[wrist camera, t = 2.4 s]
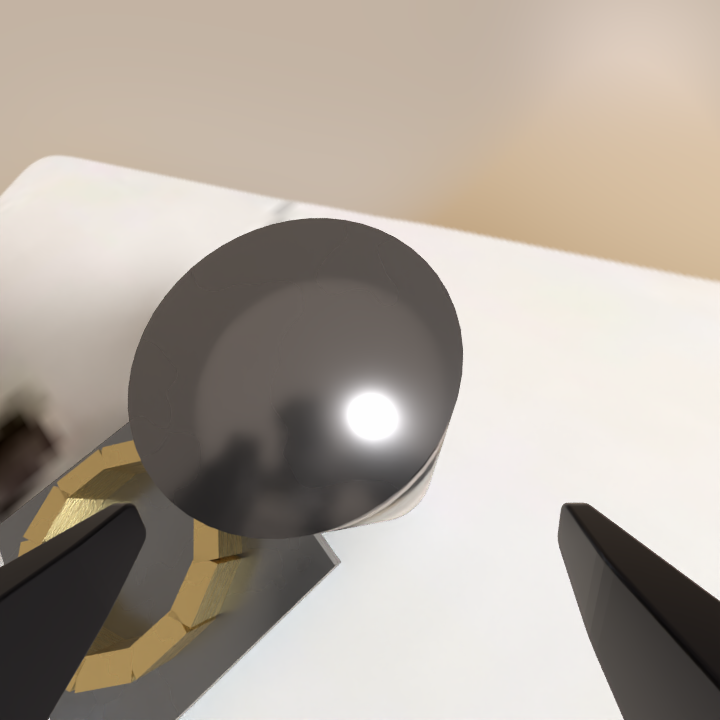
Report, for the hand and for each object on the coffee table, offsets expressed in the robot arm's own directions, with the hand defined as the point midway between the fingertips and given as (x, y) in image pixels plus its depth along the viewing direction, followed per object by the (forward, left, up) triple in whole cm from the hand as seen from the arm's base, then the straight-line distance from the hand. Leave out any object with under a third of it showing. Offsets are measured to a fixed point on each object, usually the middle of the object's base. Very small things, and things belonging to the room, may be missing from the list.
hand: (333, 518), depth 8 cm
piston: (+1, +2, -10) cm, 10 cm away
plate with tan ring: (-9, +6, -9) cm, 14 cm away
